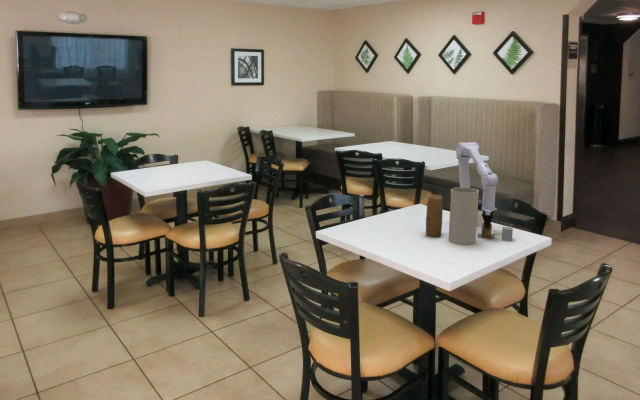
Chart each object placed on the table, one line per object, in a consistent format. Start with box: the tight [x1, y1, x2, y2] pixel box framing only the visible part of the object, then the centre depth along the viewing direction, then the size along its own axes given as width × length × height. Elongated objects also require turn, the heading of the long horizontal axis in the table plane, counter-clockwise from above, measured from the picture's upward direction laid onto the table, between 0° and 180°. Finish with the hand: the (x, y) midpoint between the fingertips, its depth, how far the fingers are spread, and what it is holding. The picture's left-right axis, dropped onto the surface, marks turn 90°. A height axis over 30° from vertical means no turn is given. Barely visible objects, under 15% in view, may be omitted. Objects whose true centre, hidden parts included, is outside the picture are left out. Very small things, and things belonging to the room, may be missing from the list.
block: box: [425, 194, 444, 238], centre depth 265 cm, size 11×8×20 cm
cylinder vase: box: [448, 187, 480, 246], centre depth 253 cm, size 12×12×25 cm
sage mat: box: [492, 229, 502, 236], centre depth 268 cm, size 8×8×1 cm
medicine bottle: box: [477, 201, 484, 227], centre depth 283 cm, size 7×7×12 cm
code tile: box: [477, 233, 496, 240], centre depth 263 cm, size 8×8×1 cm
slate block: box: [501, 226, 514, 242], centre depth 257 cm, size 4×4×6 cm
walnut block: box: [480, 223, 493, 238], centre depth 262 cm, size 4×4×6 cm
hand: (486, 226), depth 262 cm, fingers open, 7 cm apart
